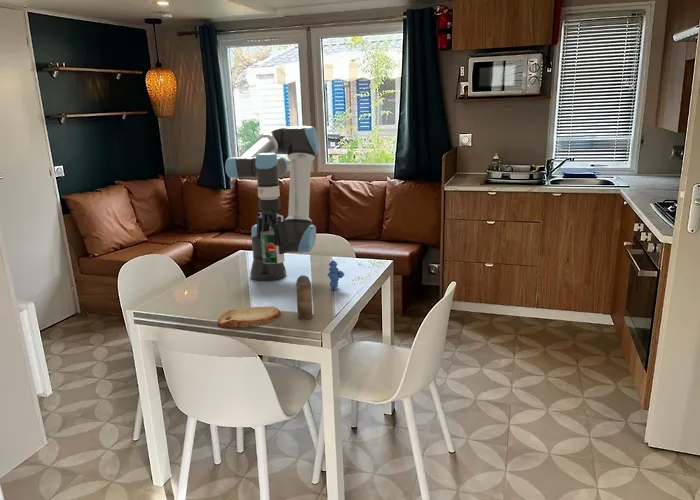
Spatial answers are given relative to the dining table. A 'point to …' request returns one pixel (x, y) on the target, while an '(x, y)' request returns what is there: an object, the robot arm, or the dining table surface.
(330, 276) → the grapes
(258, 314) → the bread slice
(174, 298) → the dining table surface
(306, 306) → the walnut pepper mill
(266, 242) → the canned tomato
